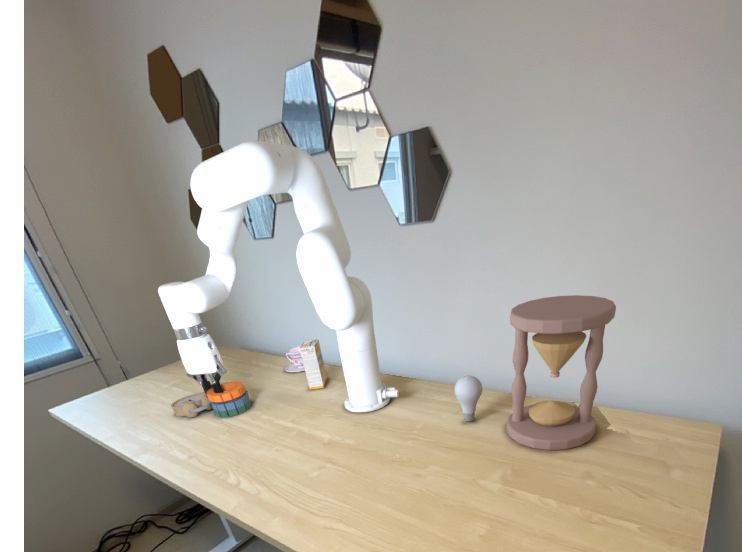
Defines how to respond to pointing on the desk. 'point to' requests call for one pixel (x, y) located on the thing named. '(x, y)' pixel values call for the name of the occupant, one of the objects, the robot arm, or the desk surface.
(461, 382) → the lightbulb
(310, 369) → the supplement box
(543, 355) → the hourglass
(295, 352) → the teacup
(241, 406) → the ring stack
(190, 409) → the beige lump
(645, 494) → the desk surface
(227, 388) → the orange ring
